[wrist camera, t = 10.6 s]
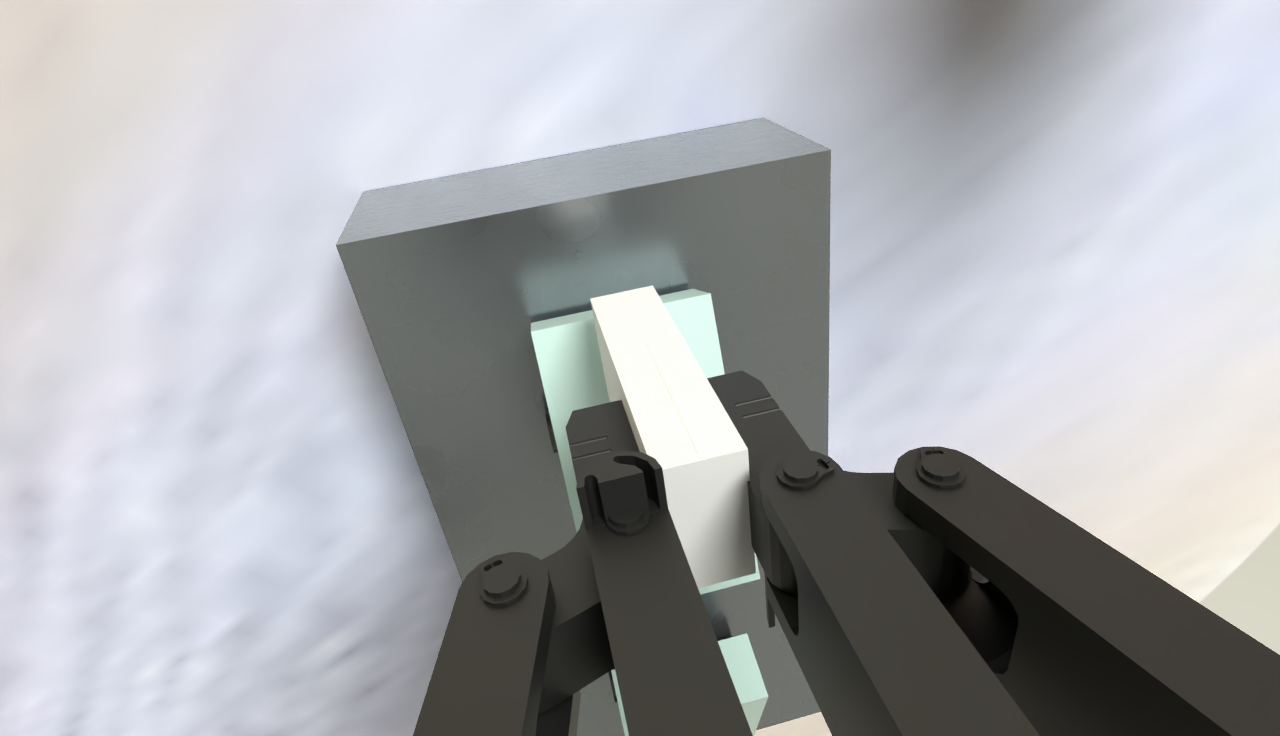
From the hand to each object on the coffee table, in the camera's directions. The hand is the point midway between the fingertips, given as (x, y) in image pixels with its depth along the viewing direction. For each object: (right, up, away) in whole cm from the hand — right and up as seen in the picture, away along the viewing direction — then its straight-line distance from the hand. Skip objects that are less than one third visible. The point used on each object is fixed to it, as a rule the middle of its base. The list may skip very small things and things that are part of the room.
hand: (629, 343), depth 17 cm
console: (0, -4, +12) cm, 13 cm away
